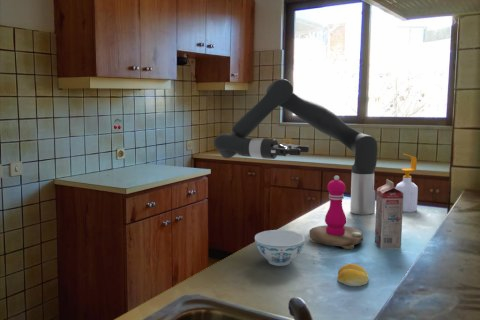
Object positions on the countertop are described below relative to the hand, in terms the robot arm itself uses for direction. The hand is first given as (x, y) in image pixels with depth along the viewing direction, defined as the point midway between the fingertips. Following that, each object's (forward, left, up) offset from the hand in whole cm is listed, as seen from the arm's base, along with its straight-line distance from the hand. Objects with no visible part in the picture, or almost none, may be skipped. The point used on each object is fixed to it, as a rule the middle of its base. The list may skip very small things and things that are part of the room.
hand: (304, 150), depth 164 cm
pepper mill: (-4, +14, -27) cm, 31 cm away
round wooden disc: (-4, +14, -30) cm, 34 cm away
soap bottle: (-57, -7, -30) cm, 65 cm away
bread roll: (+12, +43, -30) cm, 54 cm away
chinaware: (+23, +22, -30) cm, 44 cm away
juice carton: (-17, +25, -30) cm, 43 cm away
